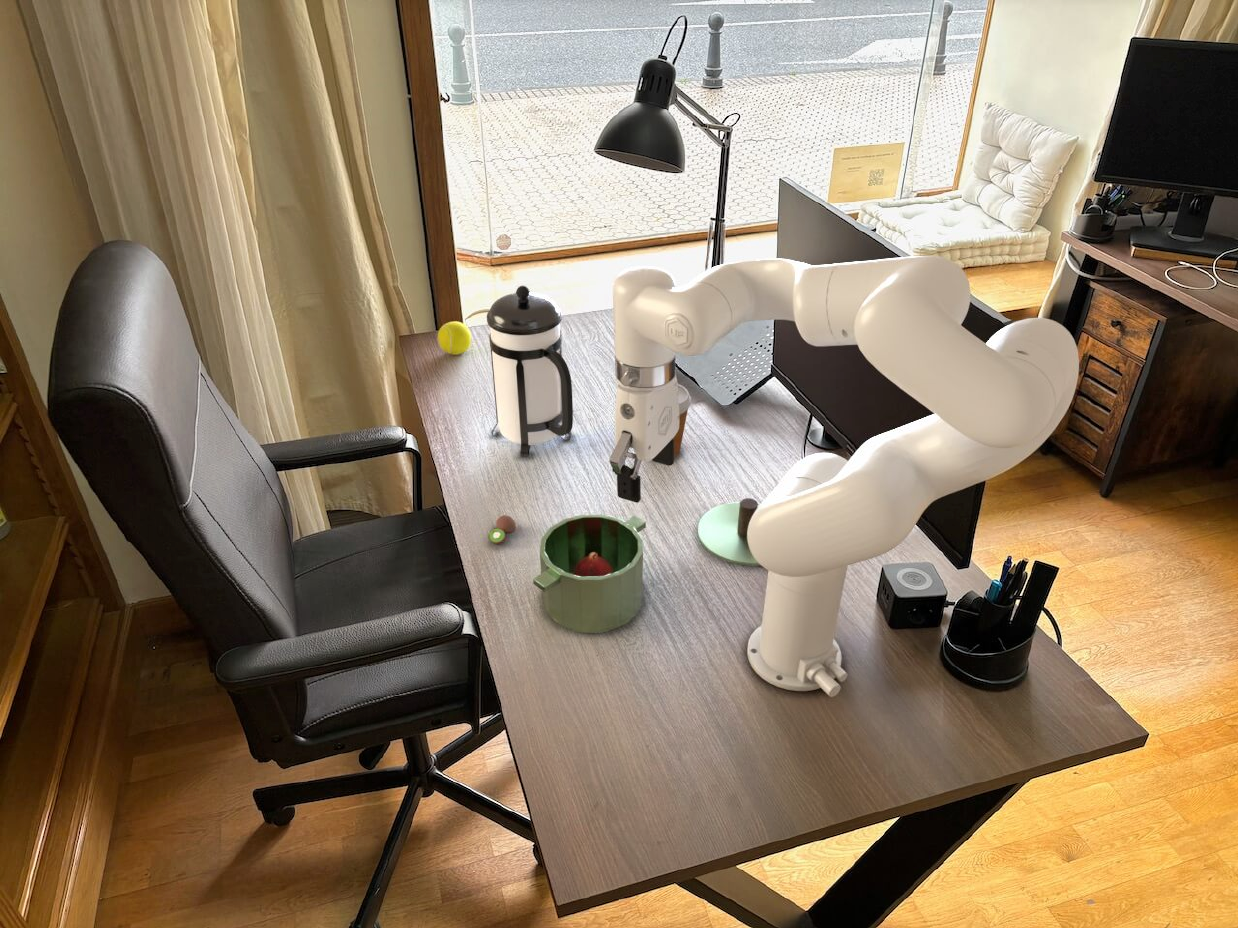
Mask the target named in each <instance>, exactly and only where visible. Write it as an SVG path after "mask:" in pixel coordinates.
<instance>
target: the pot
mask: <svg viewBox="0 0 1238 928" xmlns="http://www.w3.org/2000/svg"><path fill="white" fill-rule="evenodd" d="M646 524H647V522H646V521H644V520H642V519H641V518H639V517H638V516H636V515H632V516H631V517H629V518H628V519H626V520H623V519H621V518H618V517H614V516H610V515H606V514H601V513H600V514H599V513H598V514H597V513H596V514H580V515H576V516H575V515H574V516H571V517H568V518H565V519H562V520H561V521H560V522H557V523H556V524H553V525H552V526H551V527H549V528H548V529H547V531H546V532H545V534H544V535H543V536H542V538H541V539H540V544H539V545H540V546H539V561H540V563H539V564H540V574H539V575H537V576H535V577H534V578H532V582H533V585H534V586H536V587H537V588H538V589H539V590H541V593H542V594H541V595H542V604H543V607H544V609H545V612H546V613H547V615H548V616H549V618H550V619H551V620H552V621H553V622H555V623H556V624H557V625H559V626H561V627H562V628H564V629H566V630H569V631H573V632H577V633H581V634H583V633H584V634H601V633H607V632H612V631H614V630H617V629H619V628H621V627H623V626H625V625H626V624H628V623H629V622H631V621H632V620H633V619H634V618H635V617H636V615H637V614H638V612H639V611H640V609H641V606H642V603H643V577H644V575H643V574H644V573H643V572H644V570H643V569H644V541H643V540H644V539H643V538H642V537H641V535H640V532H642V531H643V530H644V529H646V528H647V525H646ZM592 552H596V553H597V554H598V556H599V557H601V558H603V559H605V560H606V561H607V562H608V563H609V564H610V566H611V568H612V572H613V573H611V574H608V575H604V576H601V577H581V576H577V575H573V572H574V570H575V567H576V565H577V563H578V562H579V561H581V560H582V559H583V558H585V557H588V556H589V555H590V553H592Z"/></svg>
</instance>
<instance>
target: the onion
mask: <svg viewBox="0 0 1238 928" xmlns="http://www.w3.org/2000/svg"><path fill="white" fill-rule="evenodd" d="M611 573H613V572H612V568H611V566H610V564H609V563H608V562H607V561H606V560H605V559H603V558H601V557H599V556H598V554H597V553H596V552H592V553H590V555H589V556H588V557H585V558H583V559H582V560H581V561H579V562H578V563H577V565H576V567H575V570H574V572H573V575H577V576H581V577H601V576H604V575H608V574H611Z"/></svg>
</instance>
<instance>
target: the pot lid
mask: <svg viewBox="0 0 1238 928" xmlns="http://www.w3.org/2000/svg"><path fill="white" fill-rule="evenodd" d="M760 504H761V503H760ZM760 504H759V503H758V501H757V500H755V499H754V498H750V497H745V498H742V499H741V500H740V501H736V502H728V503H723V504H720V505H717V506H715V507H713V508H711V509H709V510H708V511H706V512H704V514H703V515H702V516H701V518H700V519H699V521H698V524H697V529H696V530H697V531H696V533H697V538H698V540H699V542H700V544H701V545H702V547H703V548H704V549H705V551H707V552H708V553H709V554H711V555H713V556H714V557H716V558H718V559H720V560H722V561H724V562H727V563H731V564H734V565H740V566H761V565H760V564H759V563H758V562H757V561H756V559H755V558H754V557H753V555H752V553H751V551H750V548H749V545H748V540H747V531H748V526H749V522H750V520H751V518H752V516H753V514H754V513H755V511H756V510H757V508H758V507H759V506H760Z"/></svg>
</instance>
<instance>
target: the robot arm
mask: <svg viewBox="0 0 1238 928" xmlns="http://www.w3.org/2000/svg"><path fill="white" fill-rule="evenodd" d="M612 300H613V301H612V304H613V305H612V309H613V336H614V337H613V339H614V340H613V341H614V371H615V372H614V374H615V375H614V376H615V381H616V383H617V387H616V396H615V409H614V442H615V443H614V445H615V447H614V448H613V450H612V453H611V455H610V457H609V459H608V461H609V462H608V463H609V464H610V466H611V469H612V473H614V475H615V476H616V490H617V491H616V493H617V497H618V498H619V499H623V500H626V501H629V502H632V503H636V504H638V503H640V501H641V500H642V490H641V489H642V485H641V484H642V483H641V482H642V481H641V480H642V479H641V475H639V472H640V468H641V464H642V462H644V463H649V462H651V461H652V462H654V463H657V464H662V465H665V466H669V467H671V466H673V465H674V464H675V457H674V440H672V439H673V438H674V437H675V435H676V433H677V432H678V430H679V396H678V385H677V384H678V378H677V373H676V353H677V354H680V355H682V356H685V357H696V356H700V355H703V354H705V353H707V352H708V351H710V350H711V349H712V348H713V347H714V346H716V345H717V344H718V343H719V342H721V341H722V340H723V339H724V338H725V337H727V335H729V334H730V333H731V332H732V331H734V330H735V329H736V328H737V327H739V326H740V325H741V324H742V323H743V324H744V323H749V322H758V321H773V320H774V321H777V320H778V321H779V320H781V321H790V322H794V323H795V326H796V328H797V331H798V333H799V335H800V337H801V338H802V340H804V341H805V342H806V343H807V344H808V345H810V346H813V347H836V346H837V347H839V346H857V347H858V349H859V351H860V352H861V353H862V355H863V356H864V357H865V359H866V360H867V361H868V362H869V363H870V364H871V365H872V366H873V367H874V368H875V369H876V370H877V371H878V372H879V373H880V374H881V375H883V376H884V377H885V378H887V379H888V380H889V381H890V382H891V383H893V384H894V385H896V386H897V387H898V389H900V390H902V391H903V392H904V393H906V394H907V395H908V396H910V397H911V398H913V399H914V400H916V401H917V402H918V403H919V404H921V405H922V406H924V407H925V408H926V409H928V410H929V411H930V412H932V413H933V414H931V415H927V416H926V417H923V418H921V419H918V420H915V421H913V422H910V423H907V424H905V425H902V426H900V427H897V428H895V429H891V430H889V431H886V432H883V433H881V434H878V435H876V436H875V435H874V436H873V437H871V438H869V439H868V440H866V441H865V442H863V443H862V444H861V445H860V446H859V448H857V449H856V451H855V452H854V453H853V454H852V455H851V457H850V458H849V459H848V460H847V459H846V458H844V457H842V456H840V455H838V454H835V453H831V452H818V453H813V454H809V455H807V456H805V457H803V458H802V459H799V461H797V462H795V464H794V465H793V466H791V467H790V469H788V471H787V472H786V473H785V474H784V475H783V477H782V478H781V479H780V480H779V481H778V482H777V483H776V484H775V486H774V487H773V489H772V490H771V491H770V493H769V494H768V495H767V496H766V497H765V498H764V499H763V501H762V502H761V503H760V506H759V507H758V508H757V510H756V511H755V513H754V514H753V516H752V518H751V520H750V522H749V526H748V531H747V540H748V545H749V548H750V551H751V553H752V555H753V557H754V558H755V559H756V561H757V562H758V563H759V564H760V565H759V566H761V567H763V568H764V569H766V570H767V571H768V573H767V581H766V589H765V597H764V605H763V614H762V620H761V621H762V622H761V625H759V626H758V627H757V628H756V629H755V630H754V631H753V632H752V634H751V635H750V637H749V639H748V642H747V651H746V654H747V659H748V662H749V664H750V666H751V668H752V669H753V670H754V672H755V673H756V674H757V676H759V677H760V678H761V679H762V680H764V681H766V682H767V683H769V684H771V685H773V686H775V687H777V688H780V689H784V690H787V691H794V692H808V691H809V692H810V691H815V690H818V689H821V690H823V692H825V694H826V695H828V696H829V697H830V698H833V697H835V696H837V695H838V694H839V692H840V691H841V689H842V687H841V685H840V683H838V682H841V683H842V682H844V681H845V680H847V678H848V673H847V672H846V671H845V670H844V669H843V668H842V662H843V657H842V651H841V648H840V646H839V643H838V642H837V640H836V639H835V633H836V628H837V624H838V623H837V622H838V619H839V612H840V607H841V601H842V596H843V591H844V586H845V581H846V576H847V571H848V567H849V566H850V565H854V564H857V563H860V562H864V561H868V560H871V559H874V558H876V557H880V556H883V555H884V554H887V553H888V552H890V551H892V550H893V549H895V548H896V547H898V546H899V545H900V544H902V542H904V541H905V540H906V539H907V538H908V536H909V535H910V534H911V532H912V531H913V529H914V528H915V526H916V525H917V523H918V521H919V519H920V518H921V516H922V515H923V513H924V512H925V511H926V509H928V507H929V506H930V505H931V504H932V503H934V502H935V501H937V500H938V499H941V498H942V497H946V496H948V495H950V494H954V493H956V492H959V491H962V490H964V489H966V488H969V487H972V486H974V485H976V484H980V483H982V482H985V481H987V480H990V479H993V478H995V477H997V476H1000V475H1001V474H1003V473H1005V472H1007V471H1009V470H1011V469H1012V468H1014V467H1015V466H1017V465H1019V464H1020V463H1021V462H1023V461H1024V460H1025V459H1027V458H1029V456H1031V455H1032V454H1033V453H1034V452H1035V451H1037V450H1038V449H1039V448H1040V447H1041V446H1042V445H1043V444H1044V443H1045V442H1046V440H1047V439H1048V438H1049V437H1050V436H1051V435H1052V434H1053V432H1054V431H1056V428H1057V427H1058V425H1059V424H1060V422H1061V421H1062V419H1063V418H1064V416H1065V415H1066V413H1067V411H1068V410H1069V407H1070V405H1071V403H1072V402H1073V398H1074V396H1075V393H1076V389H1077V385H1078V379H1079V373H1080V357H1079V349H1078V346H1077V344H1076V341H1075V339H1074V337H1073V335H1072V334H1071V332H1070V331H1069V330H1068V329H1067V327H1065V326H1064V325H1063V324H1061V323H1059V322H1058V321H1056V320H1053V319H1049V318H1045V317H1031V318H1030V317H1028V318H1023V319H1021V320H1016V321H1014V322H1012V323H1010V324H1007V325H1006V326H1004V327H1003V328H1001V329H1000V330H998V331H997V332H995V333H994V334H993V335H992V336H991V337H990V338H989V340H987V342H984V341H983V340H981V339H980V338H979V337H977V336H976V335H974V334H973V333H972V332H971V331H969V330H968V329H966V328H965V327H964V326H962V324H963V322H964V320H965V318H966V317H967V314H968V313H969V312H968V311H969V308H970V305H971V287H970V280H969V278H968V275H967V274H966V273H965V271H964V270H963V268H962V267H961V266H960V265H959V264H958V263H957V262H955V261H954V260H951V259H949V258H946V257H944V256H937V255H913V256H905V257H902V256H901V257H893V258H892V257H891V258H882V259H873V260H872V259H871V260H863V261H851V262H840V263H832V264H819V265H818V264H817V265H811V264H808V263H805V262H802V261H801V262H800V261H795V260H792V259H787V258H765V259H764V258H763V259H754V260H743V261H736V262H735V261H734V262H727V263H723V264H720V265H716V266H713V267H712V268H709V269H707V270H706V271H704V272H702V273H701V274H699V275H698V276H697V277H695V278H694V279H692V280H691V281H690V282H689V283H687V284H685V285H684V284H683V285H681V286H678V287H677V283H676V279H675V278H674V276H673V275H672V273H670V272H669V271H667V270H665V269H664V268H660V267H657V266H656V267H655V266H645V265H644V266H635V267H634V266H633V267H630V268H627V269H624V270H623V271H621V272H620V273H618V274H617V275H616V276H615V279H614V281H613V284H612ZM630 449H633V452H634V453H633V452H630V451H629V450H630ZM627 458H629V459H633V463H632V465H631V467H630V466H629V465H626V460H627ZM835 679H837V680H838V682H837V681H836V680H835Z"/></svg>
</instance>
